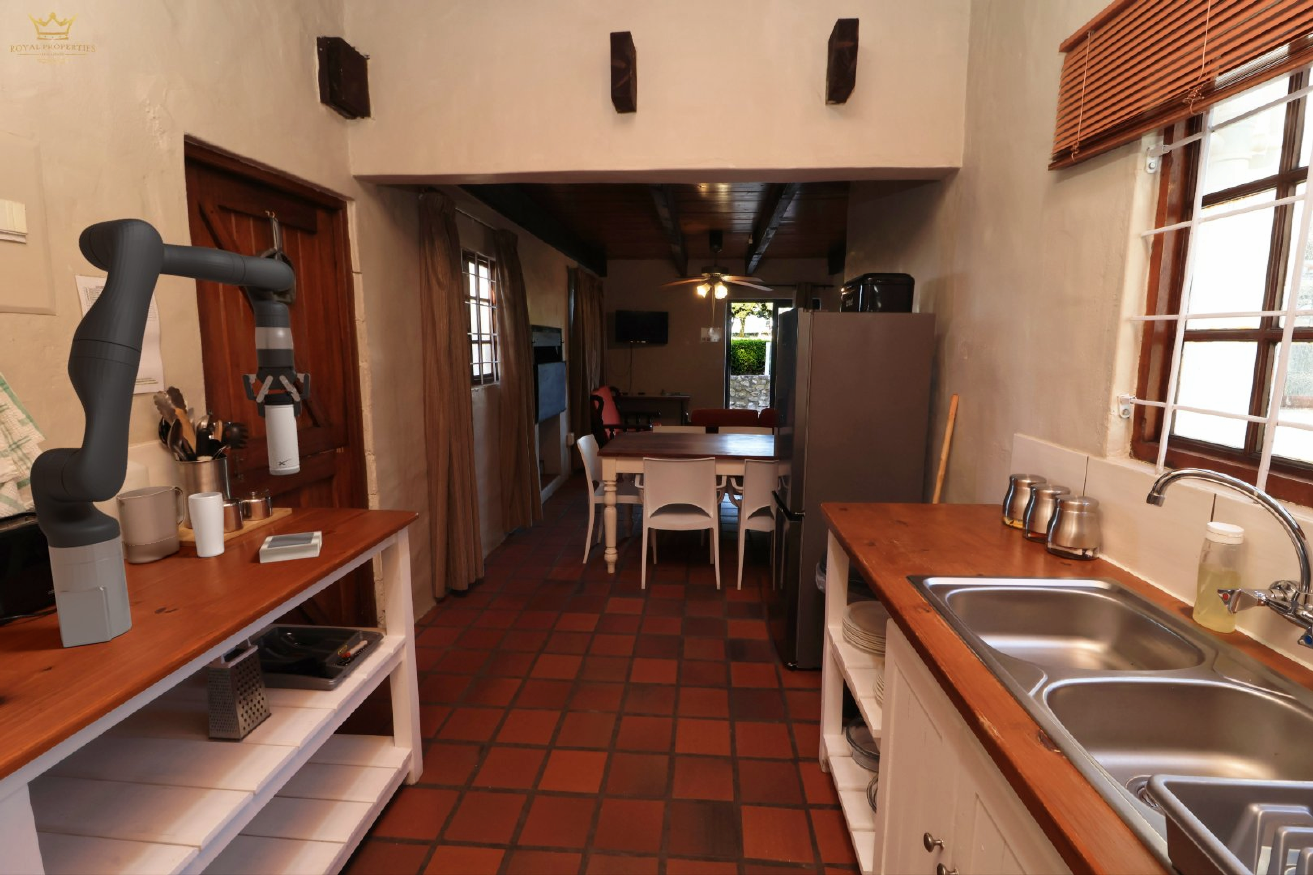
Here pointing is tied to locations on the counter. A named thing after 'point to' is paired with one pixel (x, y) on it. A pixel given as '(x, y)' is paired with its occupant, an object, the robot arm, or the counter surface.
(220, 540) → the white tall cylinder
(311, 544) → the base
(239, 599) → the counter surface
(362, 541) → the counter surface
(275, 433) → the travel mug
